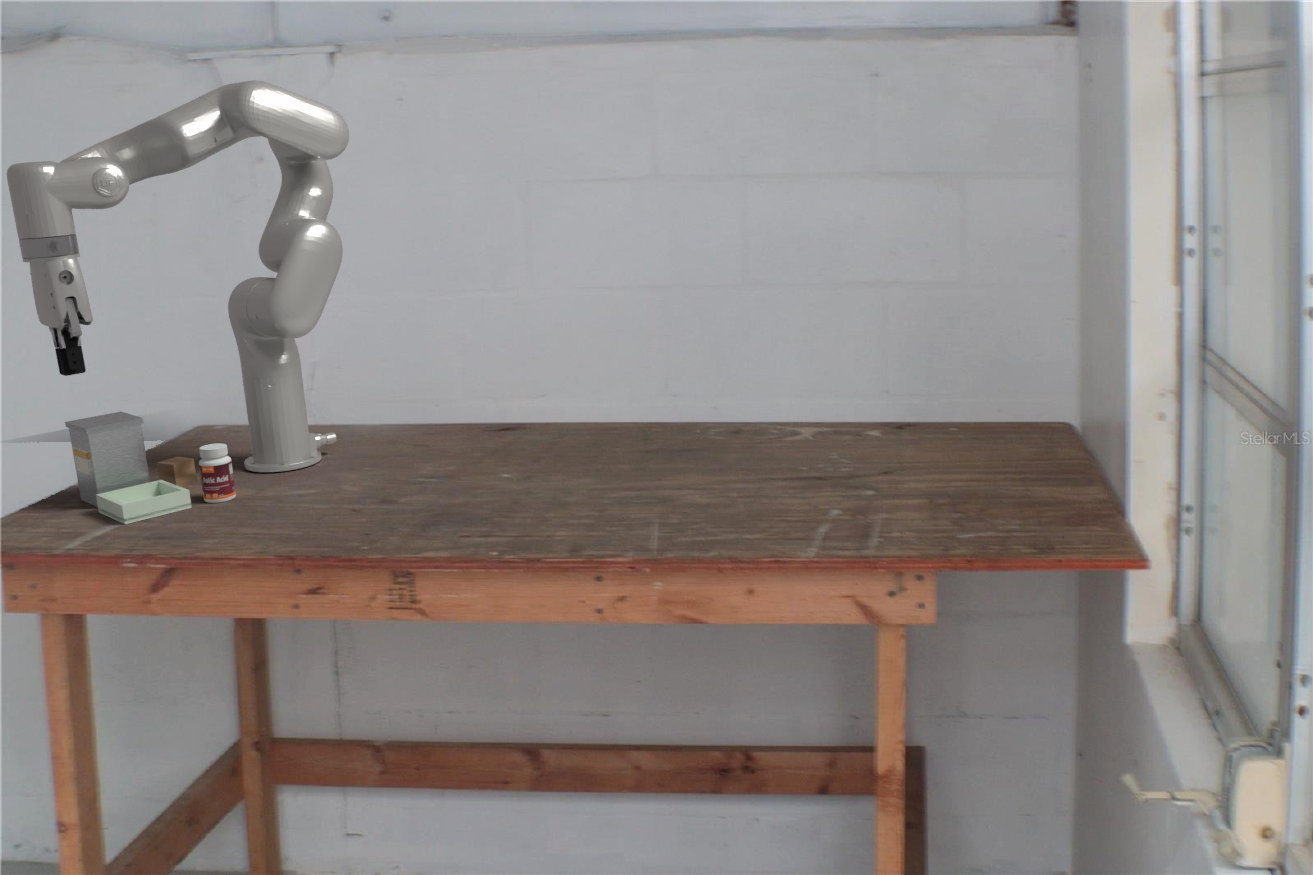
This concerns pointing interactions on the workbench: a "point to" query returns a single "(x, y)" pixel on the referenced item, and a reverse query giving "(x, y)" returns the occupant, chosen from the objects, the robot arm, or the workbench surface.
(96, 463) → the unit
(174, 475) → the walnut block
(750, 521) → the workbench surface
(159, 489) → the tray
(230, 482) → the pill bottle
